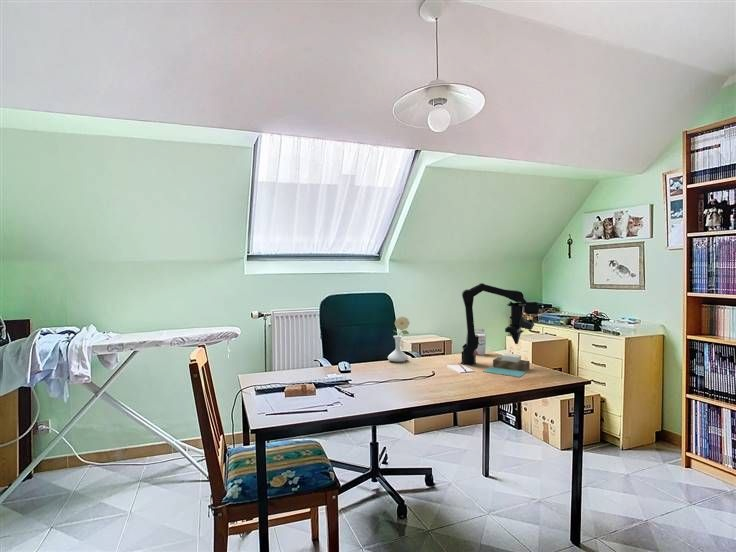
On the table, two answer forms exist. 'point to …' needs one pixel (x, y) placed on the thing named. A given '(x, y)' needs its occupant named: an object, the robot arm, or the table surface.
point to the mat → (505, 371)
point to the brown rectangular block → (511, 364)
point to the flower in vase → (397, 353)
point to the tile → (511, 357)
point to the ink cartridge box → (480, 342)
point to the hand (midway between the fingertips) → (516, 344)
